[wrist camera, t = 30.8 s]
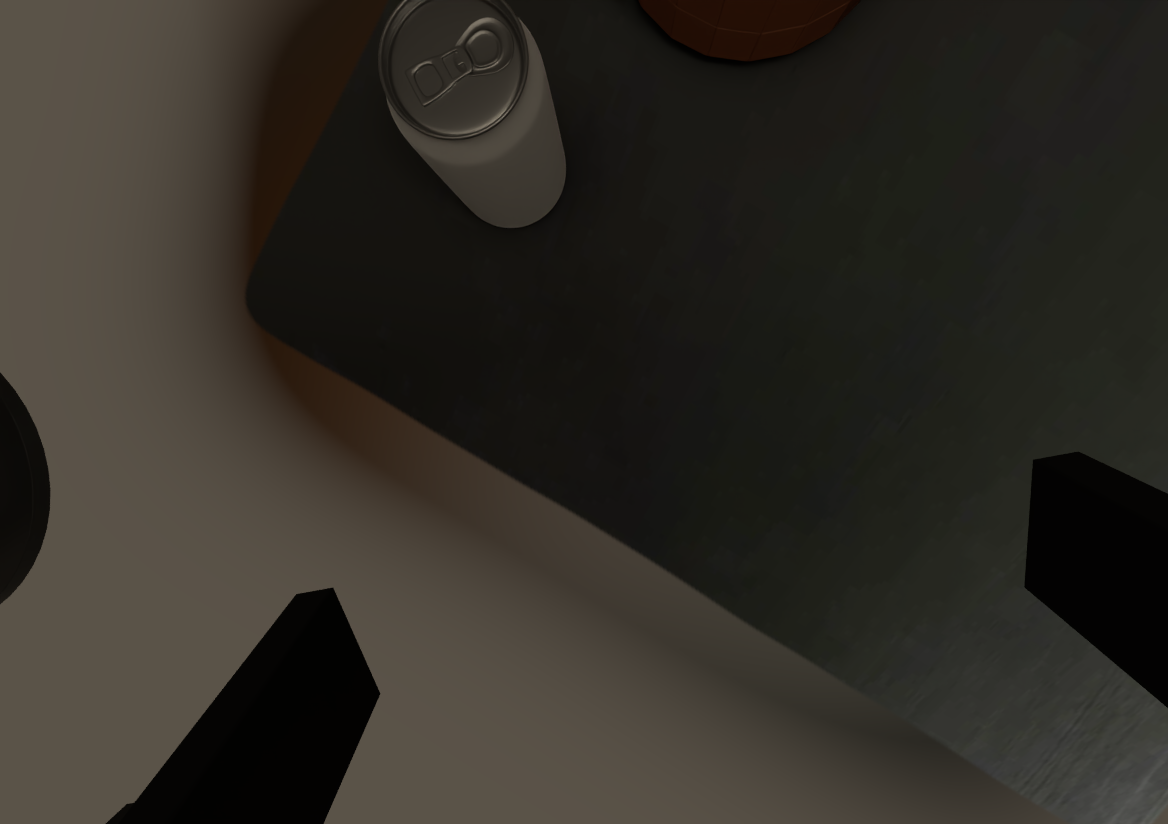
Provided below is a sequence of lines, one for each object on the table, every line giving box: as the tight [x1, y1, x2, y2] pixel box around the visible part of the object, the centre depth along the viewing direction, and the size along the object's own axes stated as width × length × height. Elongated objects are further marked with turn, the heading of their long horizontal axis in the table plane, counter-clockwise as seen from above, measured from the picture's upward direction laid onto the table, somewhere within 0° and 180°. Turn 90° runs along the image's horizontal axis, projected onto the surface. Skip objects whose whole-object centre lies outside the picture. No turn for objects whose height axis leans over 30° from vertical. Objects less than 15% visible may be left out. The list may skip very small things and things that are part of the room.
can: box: [378, 0, 566, 228], centre depth 26 cm, size 6×6×12 cm
